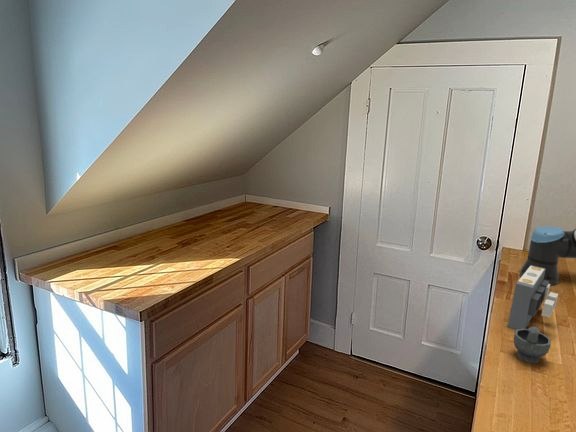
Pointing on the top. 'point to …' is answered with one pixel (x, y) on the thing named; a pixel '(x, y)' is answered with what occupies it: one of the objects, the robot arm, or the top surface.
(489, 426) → the top surface
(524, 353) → the mortar and pestle
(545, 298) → the button
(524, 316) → the button panel
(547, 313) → the button
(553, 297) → the button middle
